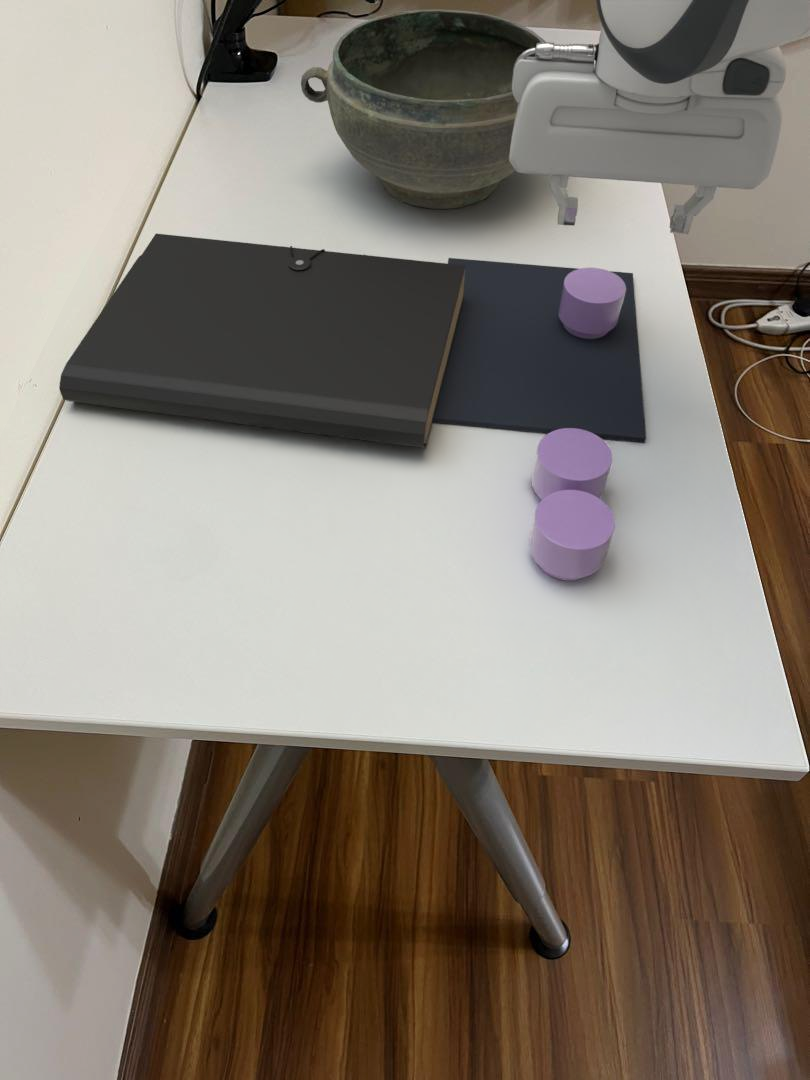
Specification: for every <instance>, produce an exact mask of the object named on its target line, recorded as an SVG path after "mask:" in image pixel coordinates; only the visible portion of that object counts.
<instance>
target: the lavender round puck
mask: <svg viewBox="0 0 810 1080" xmlns="http://www.w3.org/2000/svg"><path fill="white" fill-rule="evenodd" d="M610 271H611V270H607V269H604V268H599V267H582V268H577V270H574V271H572V272H570V273H569V274H568V275H567V276H566V277H565V279H564V283H563V289H562V294H561V300H560V305H559V311H558V315H559V318H560V320H561V322H562V323H563V326H564V328H565V329H566V330H567V331H568V332H569V333H571V334H572V335H574V336H577V337H580V338H585V339H595V338H600V337H602V336H604V335H606V334H607V333H608V332H609V331H610V330H612V329H613V328H614V327H615V326H616V325H617V323H618V320H619V316H620V312H621V308H622V304H623V300H624V296H625V292H626V285H625V283H624V281H623V280H622V279H621V278H620V277H619V276H617V275H616V274H614V273H612V272H610Z"/></svg>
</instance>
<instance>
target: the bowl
mask: <svg viewBox="0 0 810 1080" xmlns="http://www.w3.org/2000/svg"><path fill="white" fill-rule="evenodd" d="M541 42H547V41H546V40H545V39H543V38H542V37H541V36H540V35H538V34H537V33H536V32H534V31H533V30H531V29H530V28H528V27H526V26H524V25H522V24H519V23H517V22H515V21H513V20H510V19H507V18H503V17H500V16H497V15H493V14H490V13H485V12H479V11H472V10H471V11H470V10H461V9H439V8H433V9H432V8H431V9H429V8H428V9H415V10H404V11H400V12H393V13H389V14H384V15H381V16H376V17H373V18H371V19H368V20H366V21H362V22H361V23H359V24H357V25H356V26H354V27H352V28H350V29H348V30H347V31H346V32H345V33H344V34H343V35H341V37H339V39H338V41H337V42H336V44H335V45H334V48H333V52H332V61H331V62H330V63H329V65H328V67H327V70H326V69H324V68H323V67H321V66H312V67H310V68H308V69H307V70H306V71H305V72H304V73H303V74H302V75H301V78H300V79H301V80H300V87H301V92H302V93H303V96H304V97H305V98H306V99H308V100H309V101H311V102H314V103H323V102H327V103H328V108H329V111H330V112H329V113H330V117H331V120H332V123H333V126H334V130H335V131H336V133H337V135H338V137H339V138H340V140H341V141H342V143H343V144H344V146H345V148H346V150H348V152H349V153H350V154H351V156H352V157H353V158H354V160H355V161H356V162H358V164H360V166H362V167H363V168H364V169H366V170H367V171H368V172H370V173H371V174H372V175H374V176H376V177H378V178H379V179H381V183H382V186H383V187H384V188H385V189H386V191H387V193H388V194H389V195H391V196H392V197H394V198H395V199H397V200H398V201H400V202H402V203H405V204H408V205H411V206H414V207H419V208H425V209H435V210H436V209H438V210H447V209H448V210H450V209H460V208H463V207H467V206H471V205H473V204H476V203H479V202H481V201H482V200H485V199H486V198H487V197H489V196H491V195H492V193H494V191H495V189H496V188H497V186H498V185H499V182H500V181H502V180H505V179H506V178H507V177H509V176H510V175H512V174H513V173H515V172H517V171H516V170H515V169H514V167H513V166H512V164H511V163H510V161H509V155H510V146H511V139H512V133H513V127H514V121H515V116H516V112H517V107H518V103H517V102H516V100H515V99H514V97H513V94H512V78H513V68H514V64H515V62H516V60H517V58H518V57H519V56H520V55H521V54H522V53H523V52H524V51H526V50H528V49H531V48H536V44H537V43H541ZM527 57H535V54H532V55H529V56H527ZM313 78H314V79H318V80H320V81H321V82H322V85H323V87H324V90H315V89H314V88H312V86H311V85H310V82H309V80H310V79H313Z"/></svg>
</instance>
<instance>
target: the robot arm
mask: <svg viewBox="0 0 810 1080" xmlns="http://www.w3.org/2000/svg"><path fill="white" fill-rule="evenodd" d="M595 3H596V8H597V13H598V17H599V20H600V23H601V27H600V31H599V37H598V43H597V44H593V43H592V44H591V43H569V44H564V43H563V44H560V43H555V42H553V41H546V42H541V43H537V44H536V48H531V49H528V50H526V51H524V52H523V53H522V54H521V55H520V56H519V57H518V58H517V60H516V62H515V64H514V68H513V78H512V94H513V97H514V99H515V100H516V102H517V103H518V107H517V112H516V116H515V121H514V127H513V133H512V139H511V146H510V155H509V161H510V163H511V164H512V166H513V167H514V169H515V170H516V171H515V172H516V173H518V174H526V175H538V176H550V177H549V179H550V180H549V189H550V191H551V193H552V195H553V197H554V200H555V202H556V203H557V206H558V210H557V211H558V212H557V225H559V226H573V227H574V226H575V225H576V219H577V218H576V216H577V213H578V207H579V203H578V202H579V198H578V197H575V196H569V194H568V192H567V190H566V188H567V187H568V182H569V177H571V178H584V179H595V180H596V179H597V180H599V179H600V180H610V181H611V180H612V181H627V182H639V183H641V182H642V183H653V184H666V185H667V184H670V185H681V186H683V185H684V186H694V193H693V194H692V195H691V196H690V197H689V198H688V200H687V201H686V202H684V204H673V208H672V211H671V212H672V215H671V216H670V219H669V232H670V234H681V235H682V234H683V235H689V233H690V231H691V227H692V223H693V220H694V217H696V216H697V215H698V214H700V212H701V211H703V209H704V208H705V207H707V205H709V204H710V203H711V201H712V200H713V199H714V197H715V194H716V190H717V188H726V189H739V190H754V189H756V188H757V187H759V186H760V185H761V184H762V183H764V181H766V180H767V179H768V178H769V176H770V173H771V170H772V166H773V163H774V160H775V157H776V152H777V149H778V144H779V139H780V134H781V129H782V119H783V118H782V117H783V115H782V109H781V106H780V102H779V98H778V95H779V93H780V92H781V90H782V88H783V86H784V84H785V80H786V77H787V67H786V61H785V57H784V54H783V52H782V50H781V48H780V47H781V46H784V45H786V44H790V43H793V42H797V41H800V40H802V39H806V38H809V37H810V0H596V2H595ZM532 54H535V57H527V56H529V55H532Z"/></svg>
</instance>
